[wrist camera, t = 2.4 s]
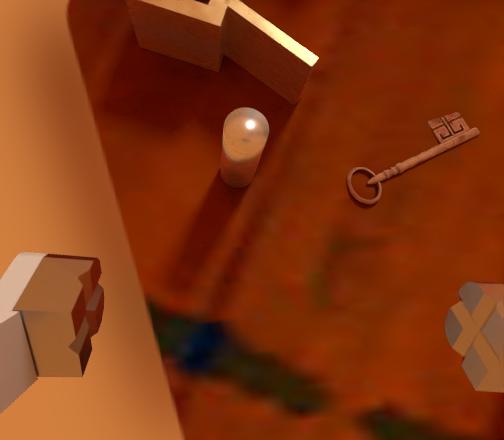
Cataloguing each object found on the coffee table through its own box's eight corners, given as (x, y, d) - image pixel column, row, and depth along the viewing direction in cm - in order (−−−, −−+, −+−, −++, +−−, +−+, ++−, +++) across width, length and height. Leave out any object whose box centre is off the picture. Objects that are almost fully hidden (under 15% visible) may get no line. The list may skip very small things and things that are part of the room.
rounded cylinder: (261, 172, 39) (278, 130, 29) (236, 195, 38) (245, 159, 29) (238, 148, 39) (247, 98, 29) (213, 170, 39) (213, 126, 29)
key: (453, 103, 43) (329, 159, 41) (457, 98, 42) (331, 155, 40) (484, 149, 42) (359, 211, 39) (490, 145, 41) (362, 208, 38)
